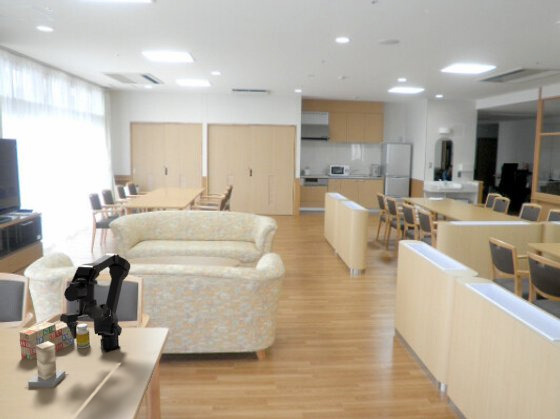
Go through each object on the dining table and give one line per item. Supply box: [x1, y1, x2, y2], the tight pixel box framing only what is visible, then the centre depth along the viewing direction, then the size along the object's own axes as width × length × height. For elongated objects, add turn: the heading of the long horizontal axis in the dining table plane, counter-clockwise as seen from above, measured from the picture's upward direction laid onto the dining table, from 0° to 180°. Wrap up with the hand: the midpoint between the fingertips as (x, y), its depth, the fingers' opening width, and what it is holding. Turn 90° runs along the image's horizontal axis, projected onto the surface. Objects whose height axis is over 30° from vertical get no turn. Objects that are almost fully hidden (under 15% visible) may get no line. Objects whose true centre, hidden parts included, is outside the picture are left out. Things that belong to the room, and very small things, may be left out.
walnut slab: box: [24, 373, 70, 390], centre depth 175 cm, size 11×11×2 cm
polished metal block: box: [36, 341, 57, 380], centre depth 174 cm, size 4×4×12 cm
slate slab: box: [27, 369, 66, 388], centre depth 174 cm, size 9×9×2 cm
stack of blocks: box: [19, 321, 75, 361], centre depth 202 cm, size 21×6×12 cm, turn 154°
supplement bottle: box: [75, 323, 91, 349], centre depth 207 cm, size 5×5×10 cm
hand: (85, 336), depth 187 cm, fingers open, 9 cm apart
